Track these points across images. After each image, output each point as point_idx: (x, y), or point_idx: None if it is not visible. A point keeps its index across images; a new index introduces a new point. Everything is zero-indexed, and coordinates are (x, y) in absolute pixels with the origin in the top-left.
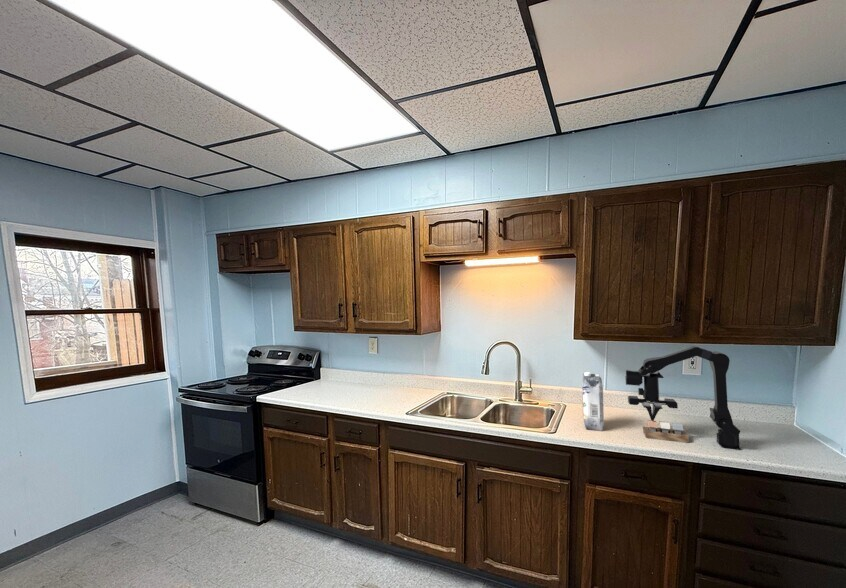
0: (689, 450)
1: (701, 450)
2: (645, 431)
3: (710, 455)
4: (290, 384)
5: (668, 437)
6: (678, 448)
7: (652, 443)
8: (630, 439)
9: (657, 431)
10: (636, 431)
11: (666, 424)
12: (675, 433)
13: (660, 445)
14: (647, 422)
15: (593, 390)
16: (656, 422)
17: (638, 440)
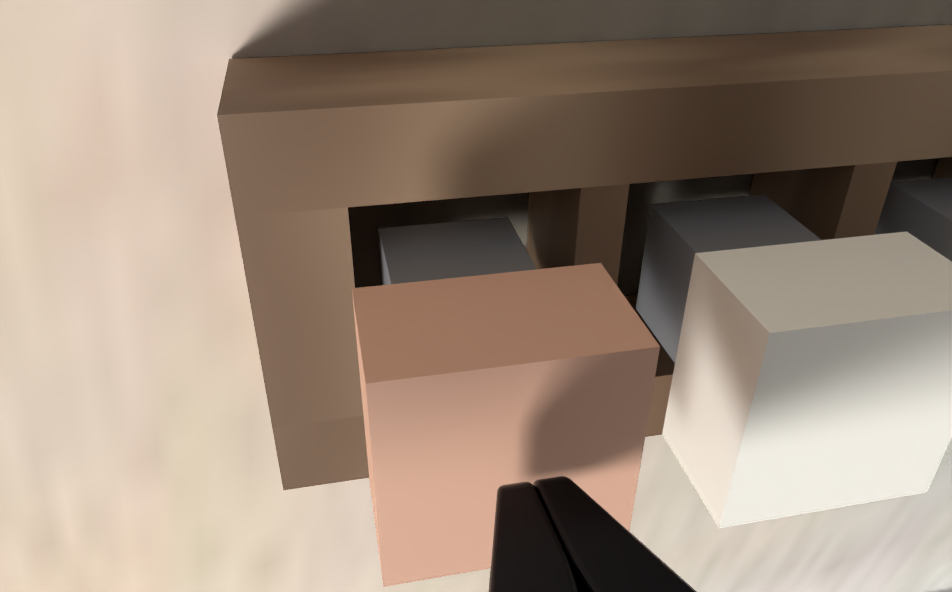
0: (795, 550)
1: (942, 489)
2: (278, 460)
3: (947, 570)
4: None
5: None
6: (688, 554)
7: (374, 558)
8: (6, 572)
9: (562, 259)
10: (44, 50)
11: (845, 497)
12: None
13: (479, 571)
14: (360, 361)
15: None
16: (625, 490)
17: (152, 550)
